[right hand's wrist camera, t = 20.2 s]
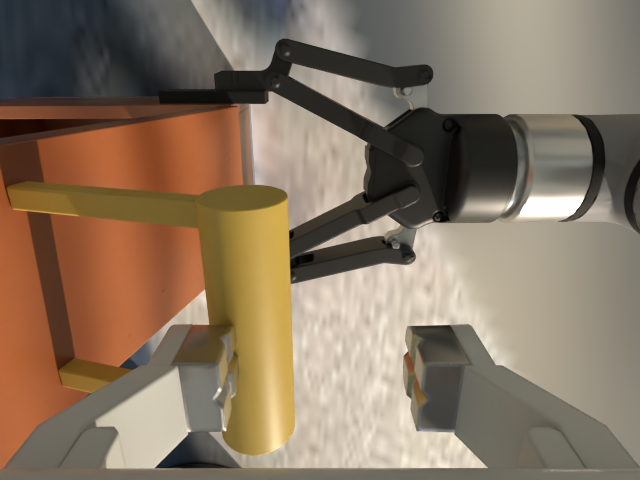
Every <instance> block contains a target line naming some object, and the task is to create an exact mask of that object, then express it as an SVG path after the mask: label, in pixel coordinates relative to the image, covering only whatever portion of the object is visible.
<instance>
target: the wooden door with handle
mask: <svg viewBox="0 0 640 480" xmlns="http://www.w3.org/2000/svg"><path fill="white" fill-rule="evenodd" d="M204 289H205V291H206V300H207V308H208V317H209V325H232V326H235V329H236V337H237V343H236V346H235V350H234V352H235V353H236V354H237V356H238V359H239V379H238V387H237V391H236V395H235V396H234V397H233V398H231V406H232V410H231V414H230V418H229V421H228V425H227V429H226V431H222V435H223V438H224V440H225V442H226V443H227V445H228V446H229V447H230V448H231V449H233V450H234V451H236V452H238V453H241V454H245V455H263V454H267V453H270V452H272V451H275V450H276V449H278V448H280V447H281V446H282V445H284V444H285V443H286V442H287V441H288V439H289V438H290V437H291V435H292V433H293V430H294V427H295V409H294V377H293V345H292V314H291V282H290V250H289V218H288V196H287V193H286V192H285V191H283V190H281V189H278V188H275V187H270V186H263V185H243V175H242V161H241V147H240V133H239V119H238V107H237V106H223V105H220V106H214V107H207V108H200V109H193V110H187V111H180V112H173V113H166V114H160V115H153V116H146V117H140V118H133V119H126V120H119V121H113V122H106V123H99V124H92V125H86V126H79V127H72V128H65V129H59V130H52V131H45V132H39V133H32V134H25V135H18V136H12V137H5V138H0V468H3V467H4V466H5V465H6V464H7V463H8V461H9V460H10V459H11V458H12V456H13V455H14V454H15V453H16V451H17V450H18V449H19V448H20V447H21V445H22V444H23V443H24V442H25V440H26V439H27V438H28V437H29V435H30V434H31V433H32V432H33V430H34V429H35V428H36V427H37V426H38V425H39V424H40V423H42V422H44V421H46V420H47V419H49V418H51V417H52V416H54V415H56V414H58V413H59V412H61V411H63V410H65V409H66V408H68V407H70V406H71V405H73V404H75V403H77V402H78V401H80V400H82V399H83V398H85V397H86V396H87V395H88V394H89V393H94V392H96V391H97V390H99V389H101V388H102V387H104V386H106V385H108V384H109V383H111V382H113V381H115V380H116V379H118V378H120V377H121V376H123V375H125V374H127V373H128V372H130V371H132V370H131V369H126V368H121V367H119V366H120V365H121V364H122V363H123V362H124V361H126V360H127V359H128V358H129V357H130V356H131V355H132V354H133V353H134V352H136V351H137V350H138V349H139V348H140V347H141V346H142V345H143V344H144V343H146V342H147V341H148V340H149V339H150V338H151V337H152V336H153V335H154V334H156V333H157V332H158V331H159V330H160V329H161V328H162V327H163V326H164V325H165V324H167V323H168V322H169V321H170V320H171V319H172V318H173V317H174V316H175V315H177V314H178V313H179V312H180V311H181V310H182V309H183V308H184V307H185V306H187V305H188V304H189V303H190V302H191V301H192V300H193V299H194V298H195V297H197V296H198V295H199V294H200V293H201V292H202V291H203V290H204Z"/></svg>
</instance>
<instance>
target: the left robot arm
mask: <svg viewBox="0 0 640 480" xmlns="http://www.w3.org/2000/svg"><path fill="white" fill-rule="evenodd" d="M292 63H294V64H298V65H302V66H306V67H309V68H313V69H317V70H321V71H325V72H329V73H333V74H336V75H340V76H344V77H348V78H352V79H356V80H360V81H363V82H367V83H371V84H375V85H380V86H385V87H390V88H393V91H394V95H395V96H396V97H397V98H399V99H402V100H406V101H407V102H408V103H409V105H410V109H409V110H407V111H406V112H405V113H403V114H402V115H400V116H399V117H398V118H396V119H395V120H394V121H392V122H391V123H389V124H388V125H387V126H385V127H382V126H380V125H378V124H376V123H374V122H373V121H371V120H369V119H367V118H365V117H363V116H361V115H359V114H358V113H356V112H354V111H352V110H350V109H348V108H346V107H345V106H343V105H341V104H339V103H337V102H335V101H334V100H332V99H330V98H328V97H326V96H324V95H323V94H321V93H319V92H317V91H315V90H313V89H311V88H310V87H308V86H306V85H304V84H302V83H300V82H299V81H297V80H295V79H293V78H291V77H289V73H290V69H291V66H292ZM214 78H215V89H169V90H162V91H158V94H159V102H160V104H195V103H233V104H266V103H267V102H268V101H269V100H268V91H273V92H275V93H276V94H278V95H280V96H282V97H284V98H286V99H288V100H290V101H292V102H293V103H295V104H297V105H299V106H301V107H303V108H305V109H307V110H308V111H310V112H312V113H314V114H316V115H318V116H320V117H322V118H324V119H325V120H327V121H329V122H331V123H333V124H335V125H337V126H339V127H341V128H342V129H344V130H346V131H348V132H350V133H352V134H354V135H356V136H357V137H359V138H361V139H362V140H364V141H366V142H368V144H367V146H365V160H366V164H367V170H366V173H365V176H364V187H363V188H364V190H365V191H364V192H362V193H360V194H358V195H356V196H354V197H353V198H352V199H351V200H350V201H348V202H346V203H344V204H342V205H340V206H338V207H336V208H334V209H332V210H330V211H328V212H326V213H324V214H322V215H320V216H318V217H316V218H314V219H312V220H310V221H308V222H306V223H304V224H302V225H300V226H298V227H296V228H294V229H292V230H290V231H289V250H290V282H291V284H294V283H298V282H302V281H307V280H311V279H315V278H320V277H324V276H329V275H333V274H337V273H342V272H346V271H351V270H355V269H359V268H364V267H368V266H372V265H377V264H381V263H390V264H401V265H410V264H412V263H413V262H414V261H415V259H416V255H415V253H414V251H413V249H412V248H413V243H414V239H415V234H416V229H418V228H421V227H423V226H424V225H427V224H430V223H435V222H437V223H489V222H492V221H495V220H496V219H498V220H499V221H501V222H504V223H512V222H550V221H558V222H567V221H605V222H612V223H617V224H620V225H622V226H624V227H626V228H628V229H630V230H632V231H634V232H636V233H638V234H640V114H620V115H569V114H510V115H507V116H505V117H504V118H503V117H501V116H500V115H497V114H438V113H436V112H434V111H433V110H431V109H429V108H428V83H429V82H430V81H431V80H432V78H433V70H432V68H431V67H430V66H428V65H411V66H403V67H391V66H387V65H384V64H380V63H376V62H372V61H369V60H365V59H361V58H357V57H354V56H350V55H346V54H342V53H339V52H335V51H331V50H327V49H323V48H320V47H316V46H312V45H308V44H305V43H301V42H297V41H293V40H290V39H281V40H279V41H278V42H277V44H276V46H275V52H274V55H273V58H272V62H271V64H270V66H269V67H268V68H267V69H265V70H263V71H220V72H218V73H216V74H214ZM386 215H388V216H389V217H391V218H392V219H394V220H395V221H396V222H398V223H399V224H401V225H400V226H399V228H398V229H396V230H392V231H388V232H387V233H386V234H385V236H377V237H370V238H366V239H362V240H357V241H353V242H349V243H344V244H340V245H336V246H331V247H327V248H323V249H318V250H314V251H310V252H306V251H308V250H310V249H312V248H314V247H316V246H318V245H320V244H322V243H324V242H326V241H328V240H330V239H332V238H334V237H336V236H339V235H341V234H343V233H345V232H347V231H349V230H351V229H353V228H355V227H357V226H359V225H361V224H369V223H371V222H373V221H375V220H377V219H379V218H382V217H384V216H386ZM304 252H305V253H304ZM173 468H225V467H222V466H217V465H212V464H186V465H180V466H176V467H173Z"/></svg>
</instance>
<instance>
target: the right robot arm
mask: <svg viewBox="0 0 640 480" xmlns="http://www.w3.org/2000/svg"><path fill="white" fill-rule="evenodd" d="M405 342H406V345H407V349H408V352H407V353H406V354H405V355H404V359H403V379H404V386H405V390H406V394H407V396H408V397H410V398H411V412H412V416H413V420H414V423H415V427H416V430H417V431H423V432H455V433H454V434H455V435H456V436H457V437H458V438H459V439H460V440H461V441H462V442H463V443H464V444H465V445H466V446H467V447H468V448H469V449H470V450H471V451H472V452H473V453H474V454H475V455H476V456H477V457H478V458H479V459H480V460H481V461H482V462H483V463H484V464H485V465H486V466H487V467H488V468H155V467H156V466H157V465H158V464H159V463H160V462H161V461H162V460H163V459H164V458H165V457H166V456H167V455H168V454H169V453H170V452H171V451H172V450H173V449H174V448H175V447H176V446H177V445H178V444H179V443H180V442H181V441H182V440H183V439H184V438H185V437H186V436H187V435H188V432H218V431H226V429H227V425H228V421H229V418H230V414H231V410H232V406H231V398H233V397H234V396H235V395H236V391H237V387H238V379H239V359H238V356H237V354H236V353H235V352H234V350H235V346H236V343H237V337H236V329H235V326H232V325H172V326H171V327H170V328H169V329H168V331H167V333H166V334H165V336H164V338H163V339H162V341H161V343H160V344H159V346H158V348H157V349H156V351H155V353H154V354H153V356H152V358H151V359H150V361H149V363H148V364H147V365H143V366H139V367H137V368H135V369H134V370H132V371H130V372H128V373H127V374H125V375H123V376H121V377H120V378H118V379H116V380H115V381H113V382H111V383H109V384H108V385H106V386H104V387H102V388H101V389H99V390H97V391H96V392H94V393H92V394H90V395H89V396H87V397H85V398H83V399H82V400H80V401H78V402H77V403H75V404H73V405H71V406H70V407H68V408H66V409H65V410H63V411H61V412H59V413H58V414H56V415H54V416H52V417H51V418H49V419H47V420H46V421H44V422H42V423H40V424H39V425H38V426H37V427H36V428H35V429H34V430H33V432H32V433H31V434H30V435H29V437H28V438H27V439H26V440H25V442H24V443H23V444H22V445H21V447H20V448H19V449H18V450H17V451H16V453H15V454H14V455H13V456H12V458H11V459H10V460H9V461H8V463H7V464H6V465H5V466H4V467H3V468H0V480H640V467H639V465H638V464H637V463H636V462H635V460H634V459H633V458H632V457H631V455H630V454H629V453H628V452H627V451H626V449H625V448H624V447H623V446H622V444H621V443H620V442H619V441H618V440H617V438H616V437H615V436H614V435H613V433H612V432H611V431H610V430H609V428H608V427H607V426H606V425H604V424H603V423H601V422H599V421H597V420H596V419H594V418H592V417H591V416H589V415H587V414H585V413H584V412H582V411H580V410H578V409H577V408H575V407H573V406H572V405H570V404H568V403H566V402H565V401H563V400H561V399H559V398H558V397H556V396H554V395H552V394H551V393H549V392H547V391H546V390H544V389H542V388H540V387H539V386H537V385H535V384H533V383H532V382H530V381H528V380H527V379H525V378H523V377H521V376H520V375H518V374H516V373H514V372H513V371H511V370H509V369H507V368H506V367H504V366H500V365H495V363H494V361H493V360H492V358H491V357H490V355H489V353H488V352H487V350H486V349H485V347H484V345H483V344H482V342H481V340H480V339H479V337H478V336H477V334H476V332H475V331H474V329H473V328H472V326H470V325H469V324H464V325H438V326H407V330H406V336H405Z"/></svg>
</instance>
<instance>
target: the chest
mask: <svg viewBox="0 0 640 480" xmlns="http://www.w3.org/2000/svg"><path fill="white" fill-rule="evenodd" d="M220 105H223V106H237V107H238V119H239V133H240V147H241V161H242V175H243V185H255V177H254V160H253V144H252V127H251V111H250V104H233V103H195V104H160V102H159V96H158V97H30V98H21V99H10V100H0V138H5V137H12V136H18V135H25V134H32V133H39V132H45V131H52V130H59V129H65V128H72V127H79V126H86V125H92V124H99V123H106V122H113V121H119V120H126V119H133V118H140V117H146V116H153V115H160V114H166V113H173V112H180V111H187V110H193V109H200V108H207V107H214V106H220Z"/></svg>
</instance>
